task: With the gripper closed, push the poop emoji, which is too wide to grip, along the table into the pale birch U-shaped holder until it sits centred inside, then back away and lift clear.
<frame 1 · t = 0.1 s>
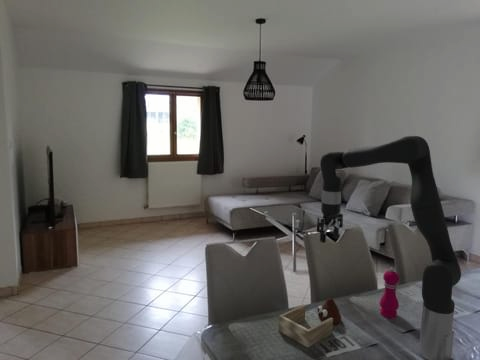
hand: (329, 240, 161), 29 cm above the table, tool pointing down, fingers open, 8 cm apart
pepper mill: (388, 314, 160), on the table
poop emoji: (329, 320, 155), on the table
birch holder: (306, 331, 146), on the table
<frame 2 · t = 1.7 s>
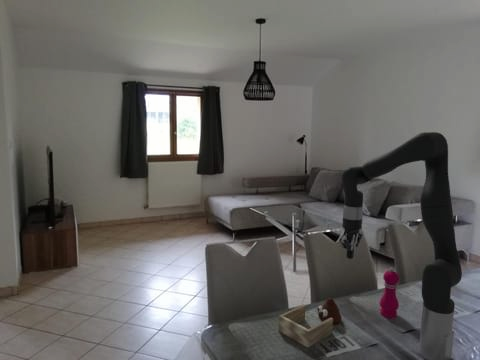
hand: (349, 258, 159), 23 cm above the table, tool pointing down, fingers closed
nothing on the table moved.
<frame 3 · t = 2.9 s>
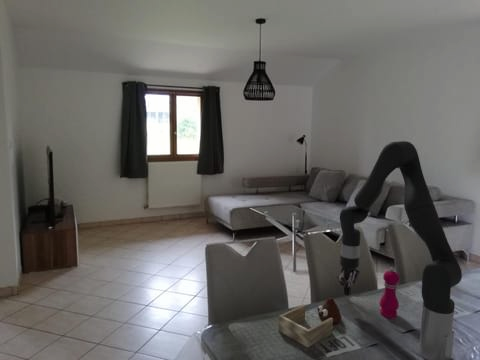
hand: (347, 294, 162), 7 cm above the table, tool pointing down, fingers closed
nothing on the table moved.
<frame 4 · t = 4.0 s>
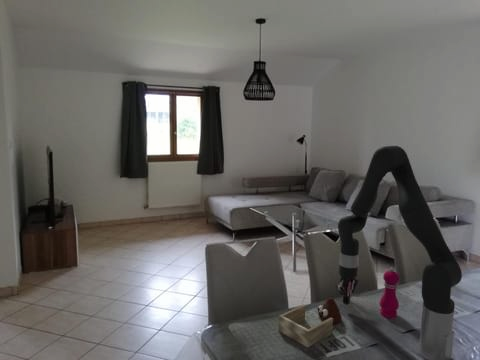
hand: (346, 303, 162), 3 cm above the table, tool pointing down, fingers closed
nothing on the table moved.
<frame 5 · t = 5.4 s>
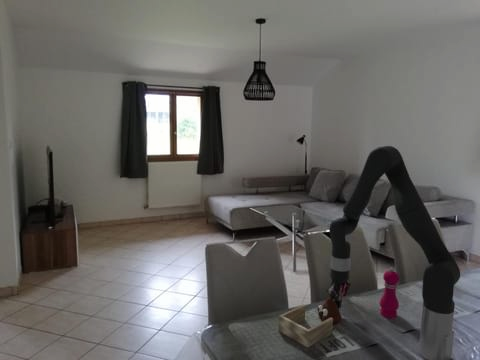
hand: (337, 307, 159), 3 cm above the table, tool pointing down, fingers closed
poop emoji: (329, 319, 156), on the table, touching gripper
everything else where it was.
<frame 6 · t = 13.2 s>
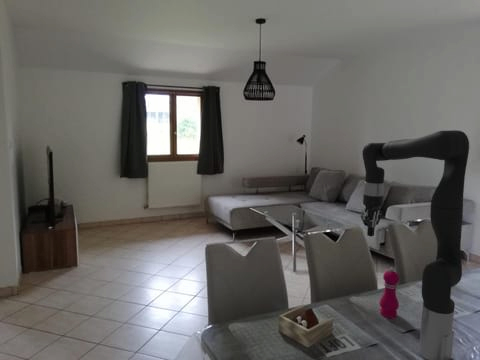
hand: (370, 235, 158), 32 cm above the table, tool pointing down, fingers closed
poop emoji: (308, 331, 147), on the table
everything else where it was.
at the end: poop emoji 1.7 cm from the target spot, on the table; poop emoji tilted 0° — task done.
